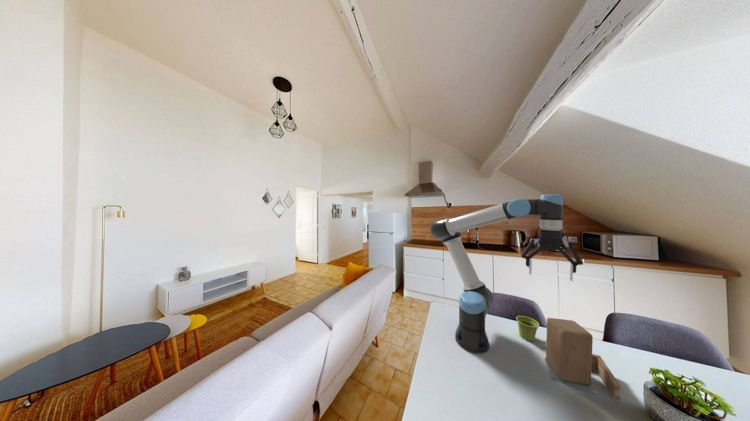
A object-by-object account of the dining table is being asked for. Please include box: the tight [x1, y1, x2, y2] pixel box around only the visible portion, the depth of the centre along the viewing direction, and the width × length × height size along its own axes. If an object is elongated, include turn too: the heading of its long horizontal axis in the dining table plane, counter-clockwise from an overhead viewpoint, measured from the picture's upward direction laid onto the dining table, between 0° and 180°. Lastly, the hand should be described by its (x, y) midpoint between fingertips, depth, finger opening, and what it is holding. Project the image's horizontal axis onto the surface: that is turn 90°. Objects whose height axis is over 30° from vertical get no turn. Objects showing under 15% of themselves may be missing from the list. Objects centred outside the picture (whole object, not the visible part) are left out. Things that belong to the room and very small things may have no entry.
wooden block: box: [545, 317, 594, 385], centre depth 78 cm, size 10×10×20 cm
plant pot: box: [515, 315, 540, 342], centre depth 100 cm, size 9×9×9 cm
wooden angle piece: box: [591, 353, 621, 402], centre depth 78 cm, size 17×15×6 cm
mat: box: [544, 357, 596, 396], centre depth 78 cm, size 12×12×1 cm
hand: (549, 276), depth 86 cm, fingers open, 13 cm apart
